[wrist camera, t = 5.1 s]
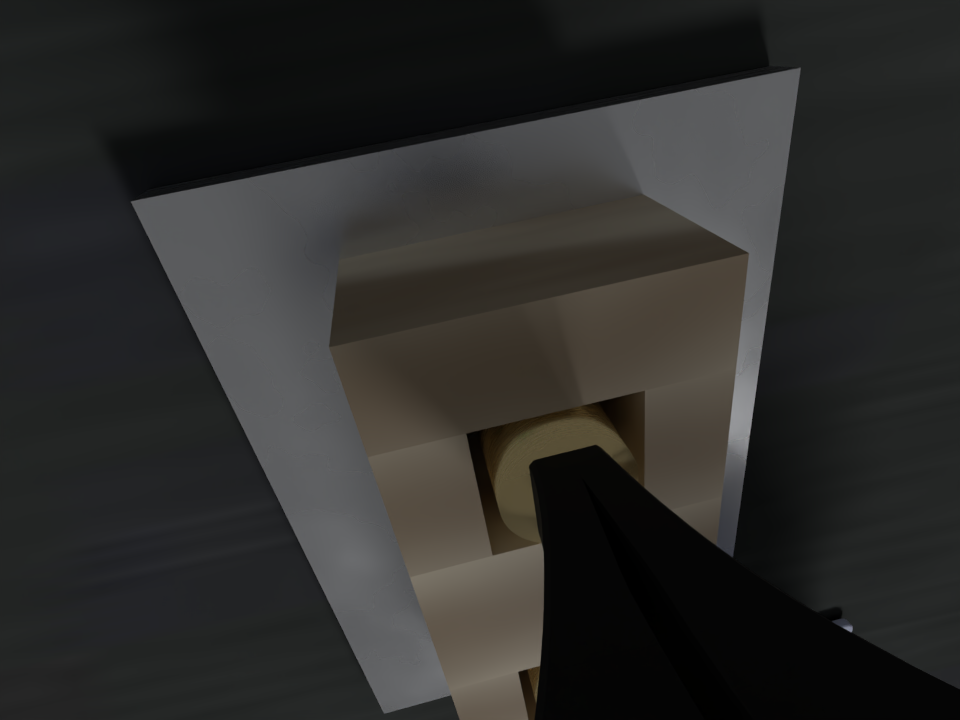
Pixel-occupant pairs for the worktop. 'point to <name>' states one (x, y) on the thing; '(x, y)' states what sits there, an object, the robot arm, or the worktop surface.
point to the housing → (532, 399)
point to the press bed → (422, 217)
